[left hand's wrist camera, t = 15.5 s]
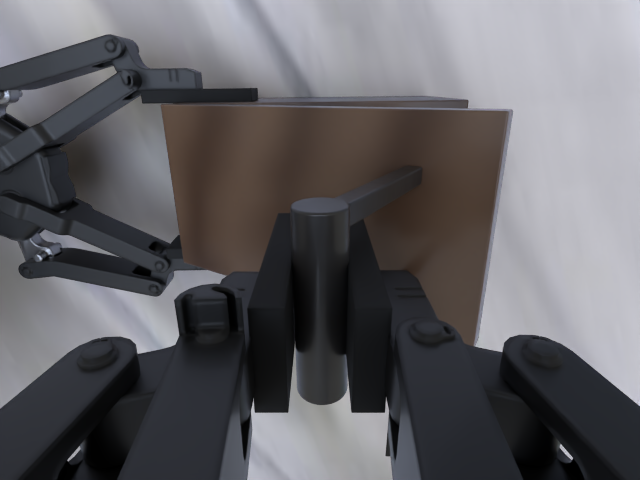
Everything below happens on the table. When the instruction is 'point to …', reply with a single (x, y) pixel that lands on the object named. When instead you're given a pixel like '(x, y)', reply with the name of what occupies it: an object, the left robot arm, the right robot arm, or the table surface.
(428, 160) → the lid
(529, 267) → the table surface
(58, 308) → the table surface
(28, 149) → the right robot arm
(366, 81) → the table surface
